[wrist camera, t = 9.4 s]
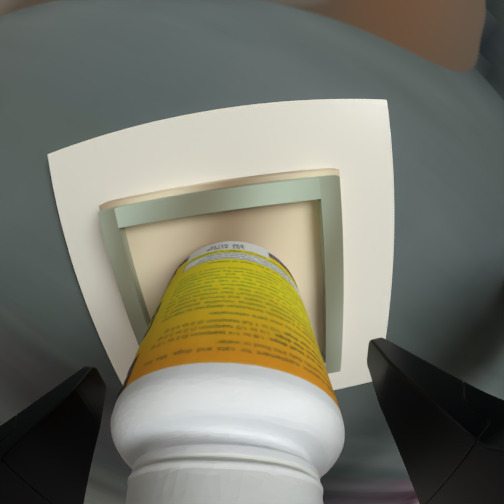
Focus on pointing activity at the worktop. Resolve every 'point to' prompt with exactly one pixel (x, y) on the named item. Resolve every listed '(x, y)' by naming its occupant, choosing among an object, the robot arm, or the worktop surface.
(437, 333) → the worktop surface
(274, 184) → the square wooden tray
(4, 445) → the robot arm
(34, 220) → the worktop surface
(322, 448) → the supplement bottle
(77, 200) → the cream square board
